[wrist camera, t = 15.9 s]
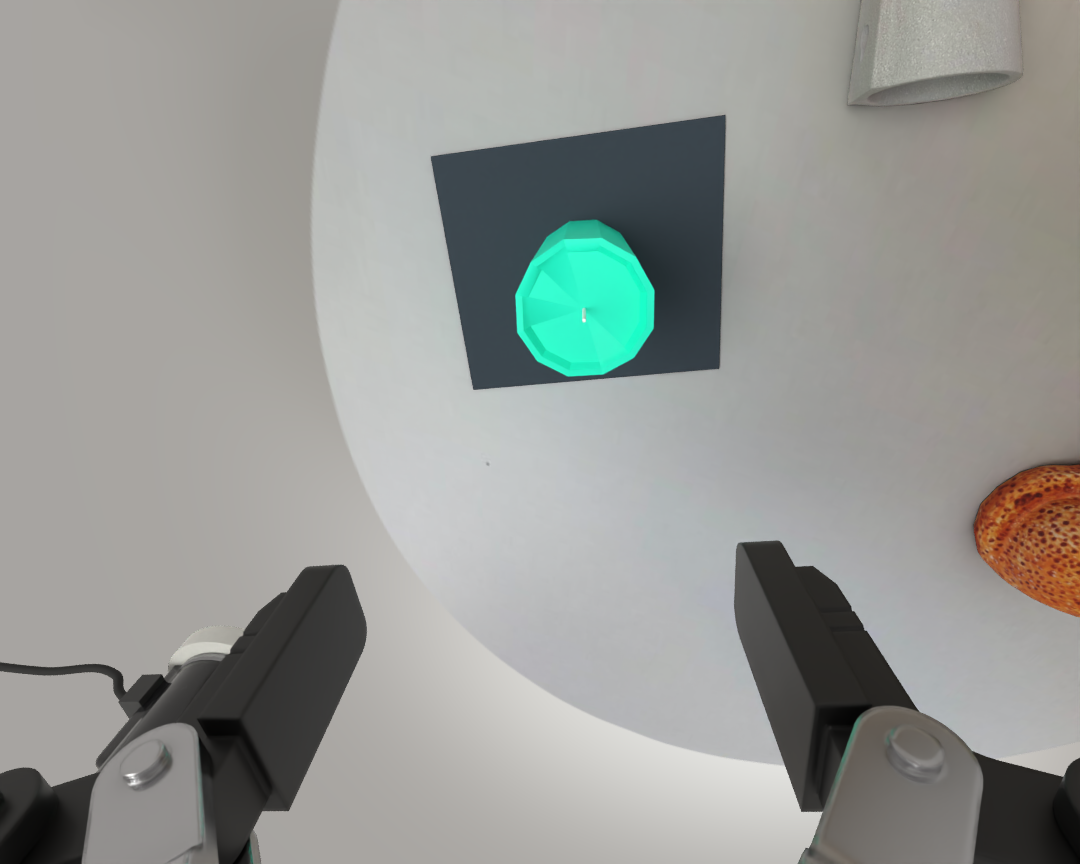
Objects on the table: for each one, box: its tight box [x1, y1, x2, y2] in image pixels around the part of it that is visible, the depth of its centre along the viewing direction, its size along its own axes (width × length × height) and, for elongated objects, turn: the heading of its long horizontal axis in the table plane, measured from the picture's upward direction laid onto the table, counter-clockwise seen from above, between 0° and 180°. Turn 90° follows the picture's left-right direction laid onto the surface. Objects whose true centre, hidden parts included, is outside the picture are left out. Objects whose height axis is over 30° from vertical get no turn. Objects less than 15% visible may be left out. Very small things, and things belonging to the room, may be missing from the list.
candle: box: [515, 220, 655, 377], centre depth 26 cm, size 6×6×12 cm
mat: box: [431, 115, 725, 390], centre depth 32 cm, size 16×14×1 cm
